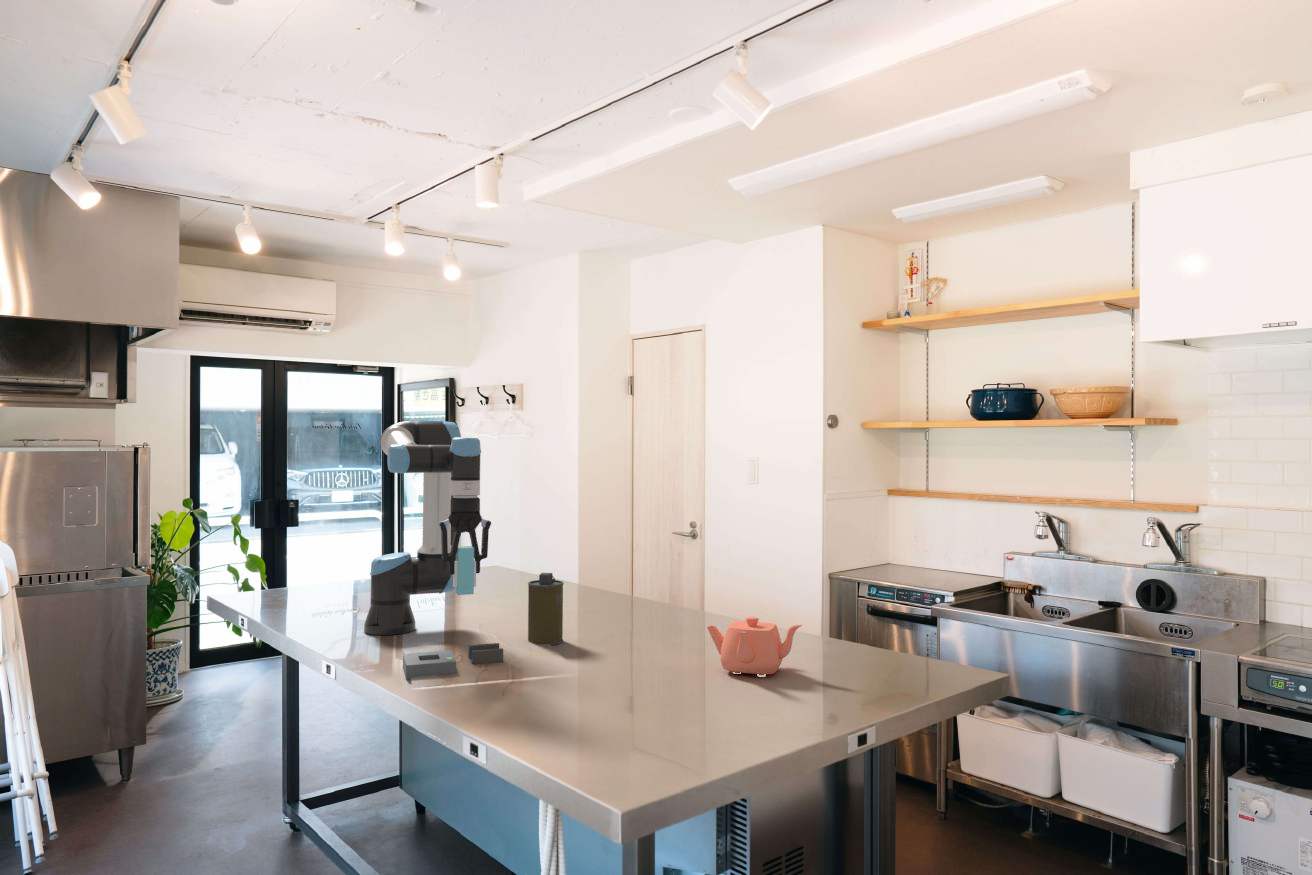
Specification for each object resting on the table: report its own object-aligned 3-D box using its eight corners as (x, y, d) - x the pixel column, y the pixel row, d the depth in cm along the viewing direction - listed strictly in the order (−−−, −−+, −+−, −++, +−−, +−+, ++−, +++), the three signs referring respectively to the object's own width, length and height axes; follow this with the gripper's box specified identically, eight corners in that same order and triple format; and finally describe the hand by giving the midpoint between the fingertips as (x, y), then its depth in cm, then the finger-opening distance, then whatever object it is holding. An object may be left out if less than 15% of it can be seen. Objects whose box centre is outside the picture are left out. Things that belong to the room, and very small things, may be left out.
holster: (468, 659, 224) (468, 645, 224) (498, 656, 226) (498, 642, 226) (472, 666, 217) (472, 651, 217) (503, 663, 220) (503, 649, 220)
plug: (455, 592, 219) (456, 546, 219) (471, 591, 220) (471, 546, 220) (458, 595, 215) (458, 548, 215) (473, 594, 217) (474, 547, 217)
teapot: (803, 676, 210) (803, 621, 210) (740, 685, 202) (741, 627, 202) (762, 659, 226) (763, 608, 226) (703, 667, 218) (703, 613, 218)
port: (402, 667, 215) (403, 651, 215) (450, 663, 219) (450, 647, 219) (406, 679, 204) (406, 662, 204) (456, 675, 208) (456, 658, 208)
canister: (556, 646, 238) (557, 576, 238) (521, 644, 240) (522, 575, 240) (568, 638, 249) (568, 571, 249) (534, 636, 251) (535, 569, 251)
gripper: (433, 498, 211) (432, 590, 211) (500, 496, 218) (500, 586, 218) (429, 496, 218) (428, 585, 218) (495, 495, 225) (494, 582, 224)
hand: (464, 586), depth 218 cm, fingers closed on plug, 4 cm apart
